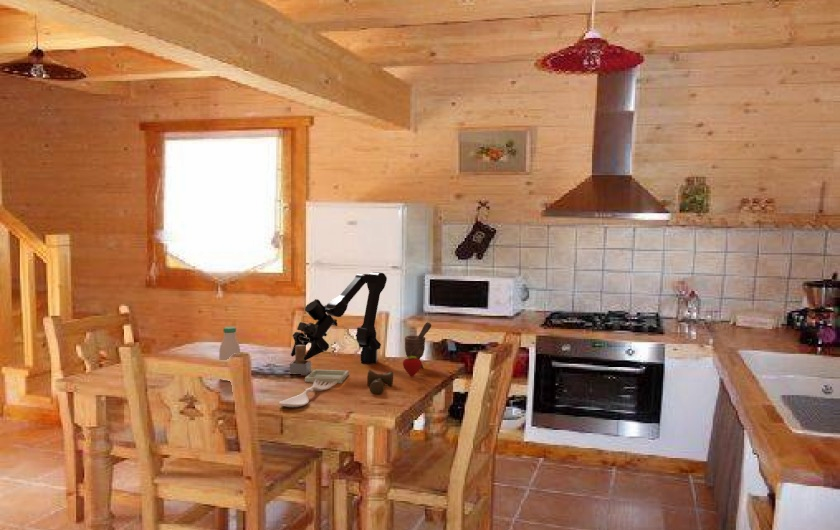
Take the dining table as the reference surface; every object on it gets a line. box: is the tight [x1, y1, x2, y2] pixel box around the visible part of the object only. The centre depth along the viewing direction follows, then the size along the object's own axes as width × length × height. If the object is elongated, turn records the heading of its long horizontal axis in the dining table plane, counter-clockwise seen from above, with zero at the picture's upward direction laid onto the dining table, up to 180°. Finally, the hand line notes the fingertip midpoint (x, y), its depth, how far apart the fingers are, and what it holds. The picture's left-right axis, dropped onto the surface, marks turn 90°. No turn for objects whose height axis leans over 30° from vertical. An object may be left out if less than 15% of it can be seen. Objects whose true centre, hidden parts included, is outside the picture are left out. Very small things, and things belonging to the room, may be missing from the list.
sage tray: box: [304, 369, 350, 385], centre depth 251 cm, size 14×14×2 cm
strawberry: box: [402, 352, 423, 378], centre depth 258 cm, size 6×8×10 cm
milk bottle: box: [218, 326, 241, 382], centre depth 249 cm, size 8×8×20 cm
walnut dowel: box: [294, 345, 307, 364], centre depth 259 cm, size 4×4×11 cm
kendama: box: [366, 369, 394, 396], centre depth 241 cm, size 6×10×20 cm
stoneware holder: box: [289, 359, 312, 376], centre depth 259 cm, size 7×7×5 cm
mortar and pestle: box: [404, 321, 432, 369], centre depth 273 cm, size 12×9×20 cm
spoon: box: [278, 379, 338, 408], centre depth 226 cm, size 9×32×3 cm, turn 164°
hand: (297, 357), depth 258 cm, fingers open, 9 cm apart
